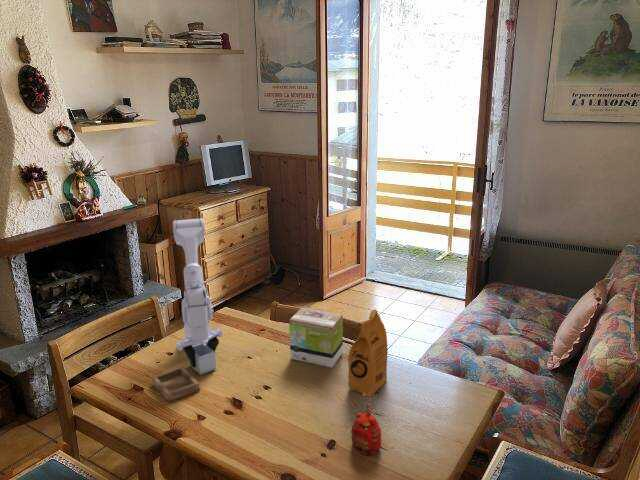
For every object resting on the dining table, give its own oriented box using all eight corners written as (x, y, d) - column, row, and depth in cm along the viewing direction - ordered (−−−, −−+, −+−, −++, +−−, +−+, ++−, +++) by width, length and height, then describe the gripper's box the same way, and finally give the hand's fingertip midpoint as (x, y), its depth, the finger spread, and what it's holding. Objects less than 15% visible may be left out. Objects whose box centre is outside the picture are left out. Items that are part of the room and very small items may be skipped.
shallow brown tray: (153, 384, 157) (152, 377, 156) (182, 373, 163) (182, 366, 162) (169, 402, 148) (168, 395, 147) (200, 390, 154) (199, 383, 153)
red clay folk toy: (346, 449, 128) (346, 397, 124) (359, 433, 134) (359, 382, 129) (374, 460, 124) (375, 407, 120) (386, 443, 130) (387, 391, 125)
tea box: (289, 360, 169) (287, 318, 165) (302, 345, 178) (300, 306, 173) (333, 368, 164) (332, 326, 159) (343, 353, 172) (343, 312, 168)
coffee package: (342, 389, 153) (342, 321, 146) (362, 369, 163) (363, 305, 156) (372, 399, 148) (373, 329, 141) (391, 378, 158) (393, 312, 151)
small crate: (189, 364, 167) (187, 347, 165) (204, 358, 170) (203, 342, 168) (200, 375, 161) (198, 358, 159) (216, 368, 164) (214, 352, 162)
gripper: (181, 336, 154) (186, 376, 158) (225, 321, 162) (228, 360, 166) (171, 327, 159) (176, 366, 163) (214, 313, 167) (218, 351, 172)
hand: (202, 362), depth 165 cm, fingers closed on small crate, 5 cm apart
